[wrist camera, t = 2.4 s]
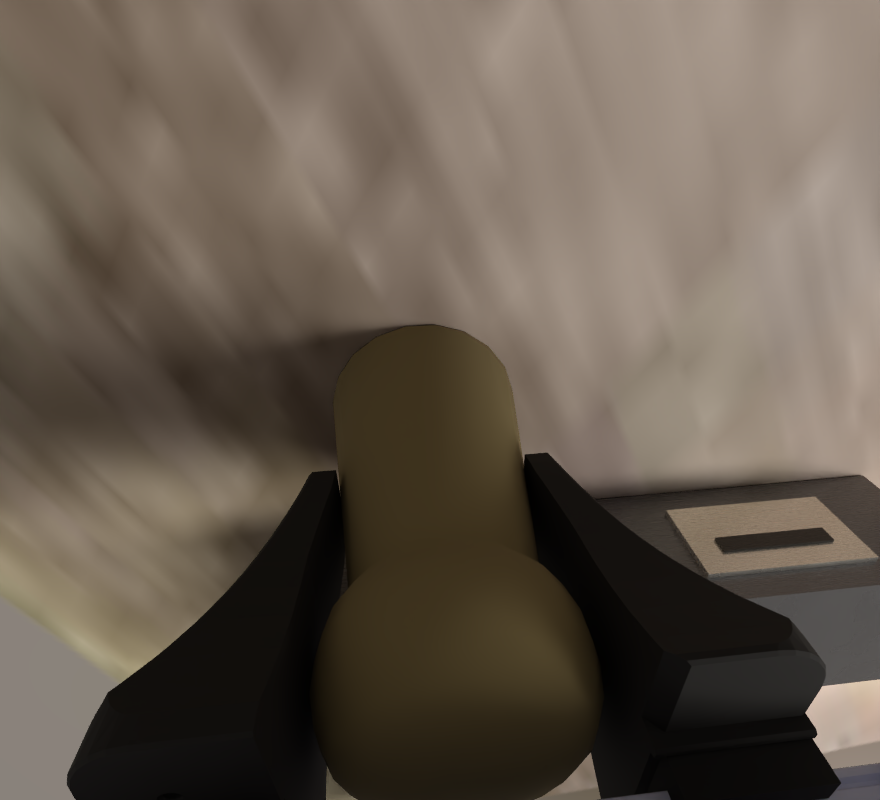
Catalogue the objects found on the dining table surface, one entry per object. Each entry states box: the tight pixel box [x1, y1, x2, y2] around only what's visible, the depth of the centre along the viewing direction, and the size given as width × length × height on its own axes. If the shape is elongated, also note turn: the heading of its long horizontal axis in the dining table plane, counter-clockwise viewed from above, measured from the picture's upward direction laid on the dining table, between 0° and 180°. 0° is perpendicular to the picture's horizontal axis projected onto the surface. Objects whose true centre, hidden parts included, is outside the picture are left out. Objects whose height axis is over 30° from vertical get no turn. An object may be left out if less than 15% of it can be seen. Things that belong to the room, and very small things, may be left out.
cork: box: [309, 325, 604, 800], centre depth 13 cm, size 6×6×11 cm
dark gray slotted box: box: [340, 476, 880, 686], centre depth 20 cm, size 6×22×5 cm, turn 92°
